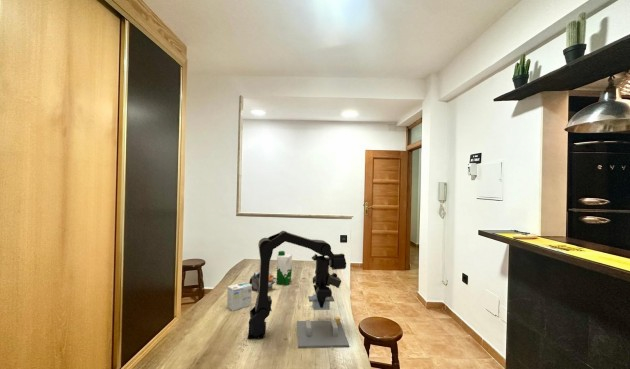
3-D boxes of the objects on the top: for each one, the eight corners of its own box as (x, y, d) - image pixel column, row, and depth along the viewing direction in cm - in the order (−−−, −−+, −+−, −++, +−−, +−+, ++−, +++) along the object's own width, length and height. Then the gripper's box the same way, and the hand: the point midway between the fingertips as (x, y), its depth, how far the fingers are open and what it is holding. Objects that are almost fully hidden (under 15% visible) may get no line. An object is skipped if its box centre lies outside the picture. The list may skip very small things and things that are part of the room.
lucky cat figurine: (273, 283, 177) (280, 267, 171) (270, 298, 165) (277, 281, 160) (250, 277, 175) (256, 260, 170) (245, 291, 164) (251, 273, 159)
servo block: (308, 309, 121) (309, 296, 121) (308, 305, 125) (308, 293, 125) (333, 309, 122) (334, 296, 122) (332, 305, 126) (332, 293, 126)
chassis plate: (298, 348, 108) (298, 336, 108) (296, 322, 127) (297, 313, 128) (349, 347, 109) (349, 335, 109) (340, 322, 129) (340, 312, 129)
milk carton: (279, 280, 184) (280, 249, 184) (292, 281, 182) (293, 250, 182) (274, 284, 175) (275, 252, 175) (288, 286, 173) (289, 254, 174)
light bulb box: (245, 301, 149) (245, 281, 149) (251, 305, 144) (252, 284, 144) (226, 307, 141) (227, 285, 142) (232, 311, 137) (233, 289, 137)
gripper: (344, 276, 115) (343, 314, 115) (336, 264, 134) (335, 296, 134) (317, 276, 114) (316, 315, 114) (313, 263, 132) (311, 296, 132)
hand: (320, 305), depth 123 cm, fingers closed on servo block, 4 cm apart
